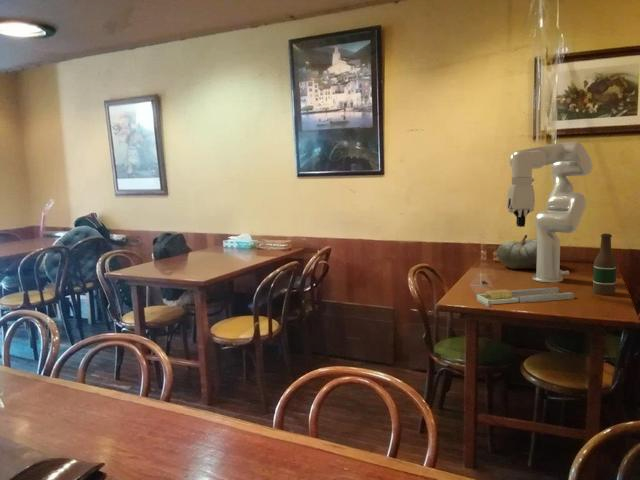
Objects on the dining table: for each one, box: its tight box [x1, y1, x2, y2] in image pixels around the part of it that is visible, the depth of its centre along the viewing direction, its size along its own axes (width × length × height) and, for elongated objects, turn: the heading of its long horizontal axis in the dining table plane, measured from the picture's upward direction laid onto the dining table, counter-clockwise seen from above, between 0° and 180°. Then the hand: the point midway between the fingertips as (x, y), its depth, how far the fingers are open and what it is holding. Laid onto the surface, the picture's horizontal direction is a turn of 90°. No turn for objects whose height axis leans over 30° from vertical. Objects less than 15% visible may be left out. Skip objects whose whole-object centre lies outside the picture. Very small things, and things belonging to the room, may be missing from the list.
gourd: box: [496, 234, 537, 270], centre depth 249 cm, size 25×25×17 cm
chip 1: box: [486, 289, 502, 300], centre depth 186 cm, size 4×4×4 cm
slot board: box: [510, 286, 575, 304], centre depth 189 cm, size 22×12×3 cm, turn 98°
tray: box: [475, 293, 520, 308], centre depth 186 cm, size 12×10×2 cm
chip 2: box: [497, 288, 512, 299], centre depth 186 cm, size 4×4×4 cm
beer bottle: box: [592, 233, 617, 296], centre depth 192 cm, size 8×8×24 cm
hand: (520, 226), depth 200 cm, fingers closed
